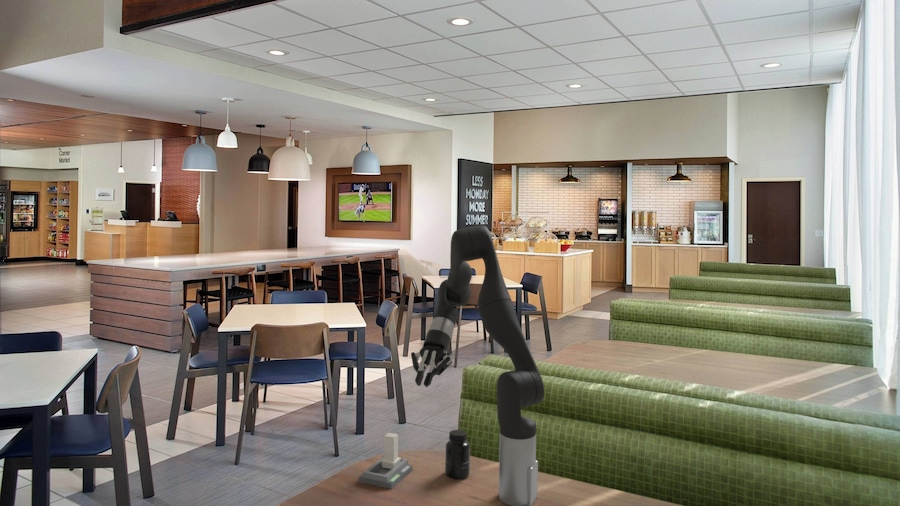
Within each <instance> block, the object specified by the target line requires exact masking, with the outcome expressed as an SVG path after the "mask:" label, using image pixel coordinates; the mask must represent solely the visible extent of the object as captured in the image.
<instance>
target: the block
mask: <svg viewBox="0 0 900 506" xmlns="http://www.w3.org/2000/svg"><path fill="white" fill-rule="evenodd" d="M383 438H384V440H383V441H384V443H383V445H384V446H383V447H384V453H383V454H384V455H383V456H384V460H382V467H383V468H388V469H393V468H394V467H395V466H396V465H397V464H399V463H400V462H401V458H402V457H399V434H397V433H392V432H388V433H386V434H385V435H384V437H383Z"/></svg>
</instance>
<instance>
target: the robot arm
mask: <svg viewBox="0 0 900 506" xmlns="http://www.w3.org/2000/svg"><path fill="white" fill-rule="evenodd" d="M449 257H450V258H449V259H450V265H449V266H450V268H449V271H448V276H447V279H444V280H443V281H442V282H441V283H440V284H439V287H438V299H437V300H438V302H437V308H436V310H435V314H434V317H433V319H432V321H431V323H430V325H429V327H428V330H427V332H426V335H425V338H424V341H423V345H422V347H421V348H420V350H419V352H414V351H413V352H411V353H410V357H411V363H412V367H413V369H414V370H415V372H416V376H415V379H414V381H415V384H416V385H417V386H418V387H420V386H421V385H422V383H423V385H424V387H425V388H428V387H429V386H430V385H431V384H432V382H433V379H434V377H435V376H441V374H442V373H444V371H445V370H447V368H449V366H451V365H452V363H453V361H452V359H451V357H450V356H448V355H447V351H448V349H449V347H450V343H451V340H452V338H453V336H454V335H453V334H454V330H455V326H456V325H457V324H456V323H457V322H458V321H457V320H458V318H459V309H457V308H456V306H458V307H465V306H466V305H467V304H468V303H470V302H469V301H471V297H472V288H471V285H470V283H471V280H472V277H473V269H472V267H471V265H470V264H469V263H468V262H470V261H471V262H472V261H475V260H481V259H482V261H483V263H484V269H485V270H484V277H483V281H482V285H481V287H480V292H479V294H478V297H477V309H478V313H479V317H480V319H481V321H482V322H481V323H482V324H483V328H484V329H485V331H486V332H487V334H488V335H489V336H490V337H491V338H492V339H493V341H495V342H496V343H497V344H498V345H499V346H500V347H501V348H502V350H504V351H505V353H506V354H507V355H508V357H509V359H510V360H511V363H512V365H513V367H514V370H509V371H504V372H502V373H501V374H500V375H499V376H498V378H497V381H496V407H497V410H496V412H497V413H496V414H497V420H498V425H499V446H498V447H499V450H498V451H499V452H498V453H499V458H498V460H499V461H498V463H499V464H498V466H499V467H498V498H499V501H500V502H501V503H503V504H505V505H508V506H532V505H533V503H534V502H535V501H536V499H537V498H538V484H539V481H538V480H539V479H538V476H539V475H538V474H539V461H538V460H537V423H536V422H535V421H534V420H533V419H532V418H530V417H527V416H524V415H522V411H521V409H522V408H525V407H528V406H534V405H538V404H540V403H542V401H543V400H544V397H545V386H544V381H543V377H542V375H541V373H540V370H539V369H538V366H537V363H536V362H535V360H534V357H533V355H532V353H531V351H530V347H529V346H528V344H527V341H526V338H525V336H524V333H523V331H522V330H523V329H522V328H521V325H520V322H519V320H518V315H517V313H516V310H515V309H516V308H515V306H514V303H513V301H512V298H511V295H510V293H509V291H508V288H507V287H508V286H507V285H506V282H505V279H504V277H503V273H502V269H501V267H500V263H499V259H498V255H497V251H496V248H495V244H494V241H493V237H492V234H491V232H490V230H489V228H488V227H487V226H485V225H476V226H471V227H464V228H461V229H457V230H454V232H453V233H452V235H451V239H450V255H449ZM455 305H456V306H455ZM420 358H421V360H420ZM419 360H420V364H419ZM427 369H428V372H427V373H426V371H427ZM425 373H426V376H425ZM424 377H425V378H424Z"/></svg>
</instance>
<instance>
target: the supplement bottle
mask: <svg viewBox="0 0 900 506" xmlns="http://www.w3.org/2000/svg"><path fill="white" fill-rule="evenodd" d="M467 435H468V433H467V431H465V430H464V429H452V430H451V431H449V437H448V441H447V442H446V443H445V458H444V459H445V462H444V463H445V464H444V466H445V467H444V471H445V476H447V478H449V479H452V480H463V479H466V478H468V477H469V476H470V471H471V469H470V468H471V467H470V466H471V443H469V441H468V436H467Z"/></svg>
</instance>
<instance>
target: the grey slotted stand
mask: <svg viewBox="0 0 900 506" xmlns="http://www.w3.org/2000/svg"><path fill="white" fill-rule="evenodd" d="M400 458H401V462H400V463H399V464H397V465H396V466H395V467H394V468H393V469H388V468H383V467H382V460H384V455H383V456H382V457H381V458H379V459H377V460H376V461H375V462H374V463H373V464H371V465H370V466H369V467H368V468H366V469H365V470H364V471H362V473H361V474H360V475H359V476H358V482H359V483H363V484H367V485H372V486H377V487H381V488H386V489H389V490H392V489H393V488H394V487H396V485H398V484H399V483H400V482H402V481H403V479H405V478H406V477H408V475H409V474H410V473H411V472H413V464H412V465H411V464H409V459H407V458H404V457H400Z"/></svg>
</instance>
